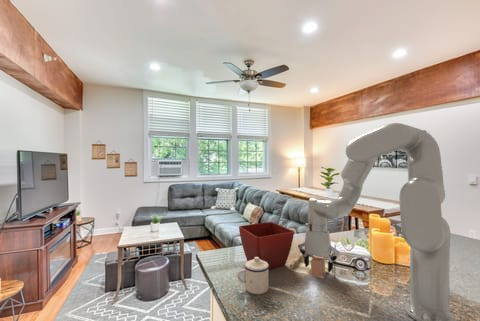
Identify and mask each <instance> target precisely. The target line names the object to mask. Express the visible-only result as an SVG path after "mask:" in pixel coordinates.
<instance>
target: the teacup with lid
mask: <svg viewBox="0 0 480 321" xmlns="http://www.w3.org/2000/svg"><path fill="white" fill-rule="evenodd" d="M244 268H245V269H244ZM244 268H243V269H242V268H241V269H240V270H238V271H237V274H236V275H237V276H236V277H237V280H238V282H240V284H241V283H242V284H245V290H246V291H247V292H248V293H249V294H253V295H262V294H265V293H267V292H268V291H269V288H270V286H269V285H270V284H269V281H270V280H269V270H268V268H269V265H268V263H267V262H266V261H263V260H260V259H259V257H255V258H254V259H253V260H250V261H246V262H245V264H244ZM241 273H245V280H244V279H241V278H240V274H241Z"/></svg>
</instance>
